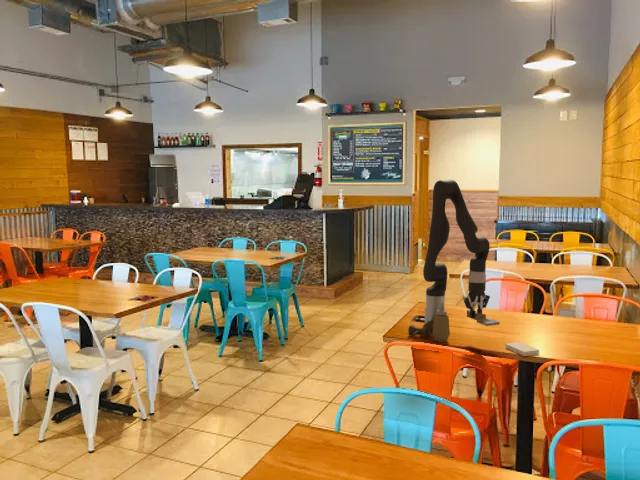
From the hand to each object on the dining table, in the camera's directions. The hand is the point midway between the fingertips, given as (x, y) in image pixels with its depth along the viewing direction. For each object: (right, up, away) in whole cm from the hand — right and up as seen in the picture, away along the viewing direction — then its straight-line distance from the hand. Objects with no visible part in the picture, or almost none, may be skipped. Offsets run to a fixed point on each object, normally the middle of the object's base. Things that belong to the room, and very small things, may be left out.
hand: (475, 317), depth 249 cm
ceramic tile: (+15, -12, -6) cm, 20 cm away
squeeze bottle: (-16, -12, +3) cm, 20 cm away
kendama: (-22, -11, +12) cm, 28 cm away
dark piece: (+1, -1, -3) cm, 4 cm away
